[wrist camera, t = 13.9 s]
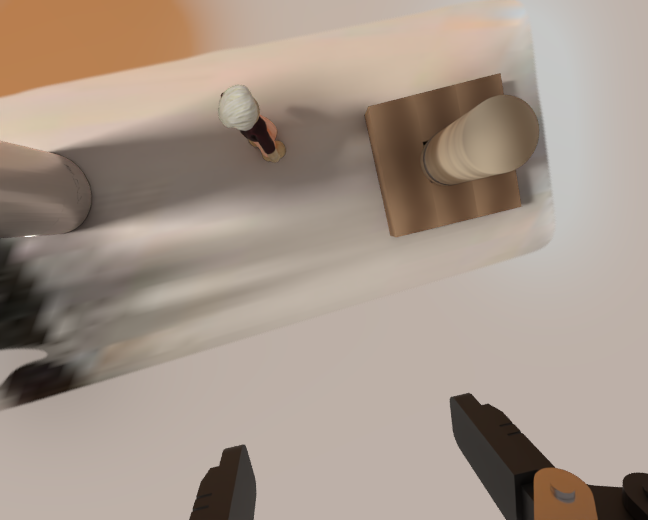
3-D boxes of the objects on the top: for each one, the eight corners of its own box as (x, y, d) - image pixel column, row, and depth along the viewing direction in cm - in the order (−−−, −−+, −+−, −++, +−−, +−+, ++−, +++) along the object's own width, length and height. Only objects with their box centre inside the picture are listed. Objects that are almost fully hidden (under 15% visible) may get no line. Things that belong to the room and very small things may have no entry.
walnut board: (390, 235, 38) (396, 237, 36) (364, 115, 37) (368, 106, 34) (505, 207, 38) (521, 206, 35) (485, 84, 36) (500, 73, 33)
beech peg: (418, 193, 37) (471, 182, 25) (408, 143, 37) (457, 104, 24) (466, 181, 37) (544, 163, 24) (457, 131, 37) (533, 85, 24)
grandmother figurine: (300, 148, 37) (291, 113, 24) (279, 175, 37) (260, 154, 25) (247, 103, 36) (209, 43, 24) (226, 130, 37) (178, 86, 24)
